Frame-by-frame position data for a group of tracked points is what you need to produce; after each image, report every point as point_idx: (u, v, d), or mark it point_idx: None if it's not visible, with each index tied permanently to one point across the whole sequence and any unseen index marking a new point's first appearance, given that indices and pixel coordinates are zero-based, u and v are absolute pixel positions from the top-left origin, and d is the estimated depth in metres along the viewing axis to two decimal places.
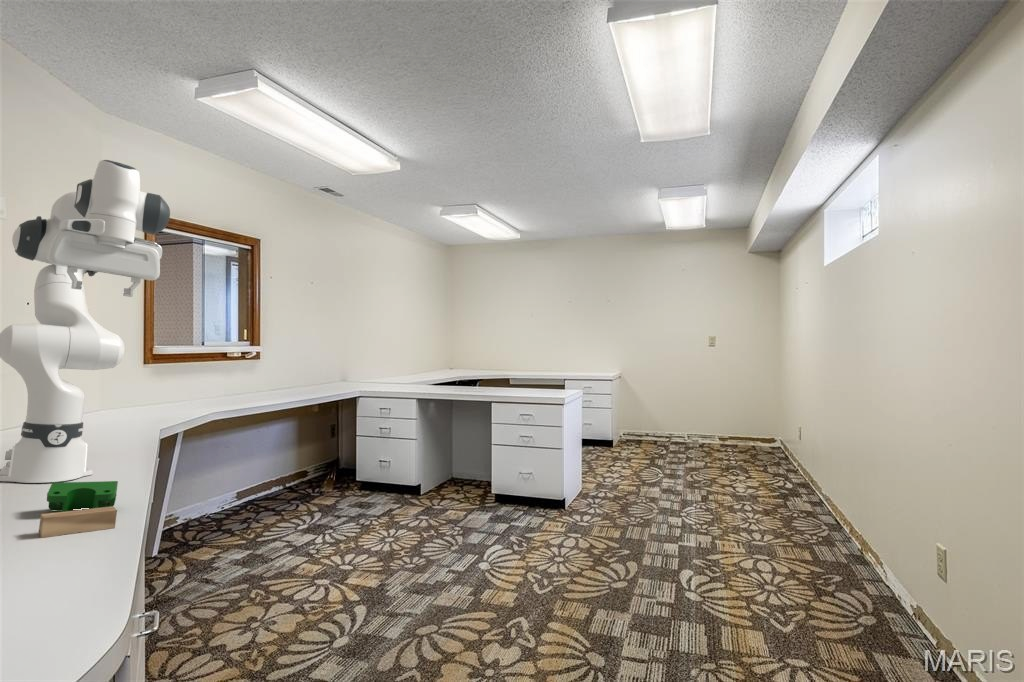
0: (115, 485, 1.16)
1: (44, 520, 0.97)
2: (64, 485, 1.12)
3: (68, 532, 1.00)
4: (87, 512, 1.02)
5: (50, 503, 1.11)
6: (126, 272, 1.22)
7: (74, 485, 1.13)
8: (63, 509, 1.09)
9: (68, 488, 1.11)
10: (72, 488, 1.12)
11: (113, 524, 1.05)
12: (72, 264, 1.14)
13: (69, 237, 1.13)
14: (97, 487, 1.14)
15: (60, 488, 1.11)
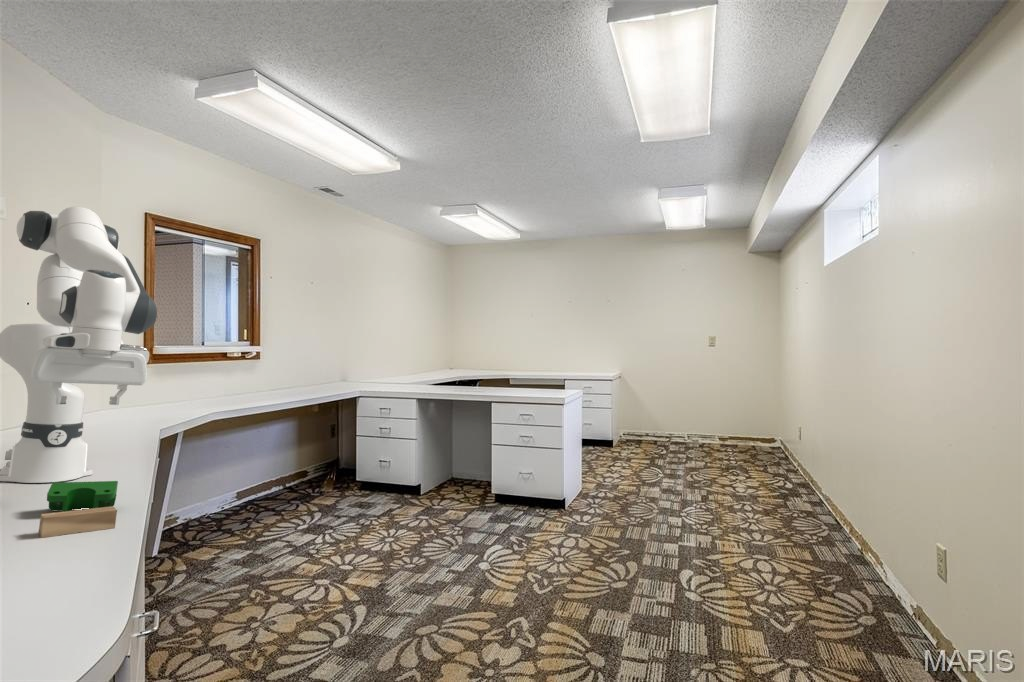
0: (115, 485, 1.16)
1: (44, 520, 0.97)
2: (64, 485, 1.12)
3: (68, 532, 1.00)
4: (87, 512, 1.02)
5: (50, 503, 1.11)
6: (112, 381, 1.20)
7: (74, 485, 1.13)
8: (63, 509, 1.09)
9: (68, 488, 1.11)
10: (72, 487, 1.12)
11: (113, 524, 1.05)
12: (56, 380, 1.12)
13: (53, 353, 1.12)
14: (97, 487, 1.14)
15: (60, 488, 1.11)
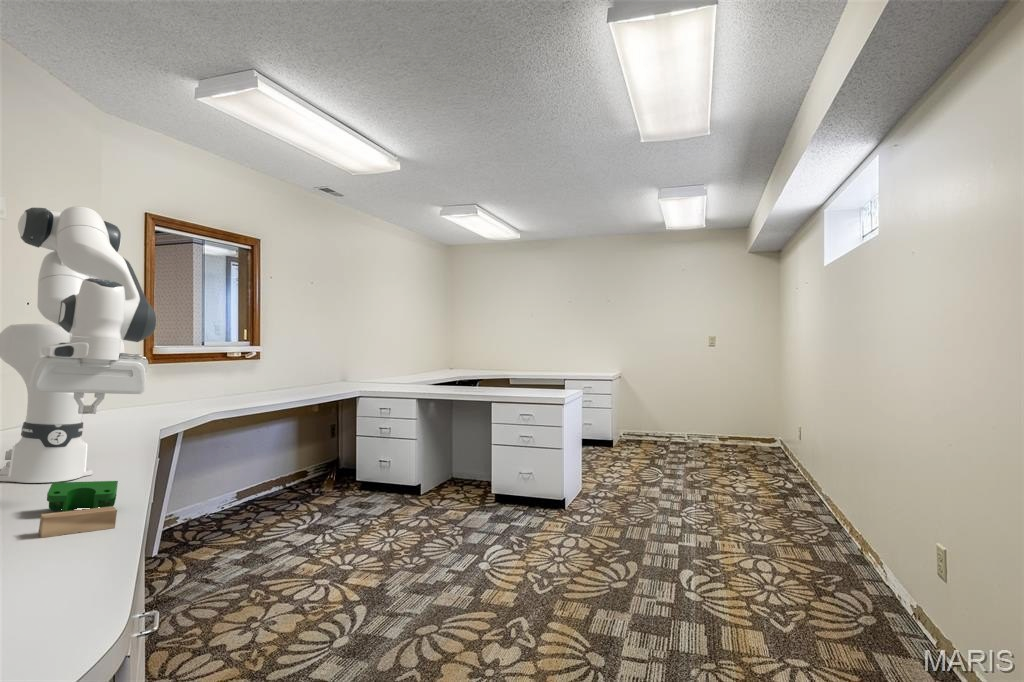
0: (115, 485, 1.16)
1: (44, 520, 0.97)
2: (64, 485, 1.12)
3: (68, 532, 1.00)
4: (87, 512, 1.02)
5: (50, 503, 1.11)
6: (111, 390, 1.20)
7: (74, 485, 1.13)
8: (63, 509, 1.09)
9: (68, 488, 1.11)
10: (72, 487, 1.12)
11: (113, 524, 1.05)
12: (55, 390, 1.12)
13: (52, 363, 1.11)
14: (97, 487, 1.14)
15: (60, 488, 1.11)
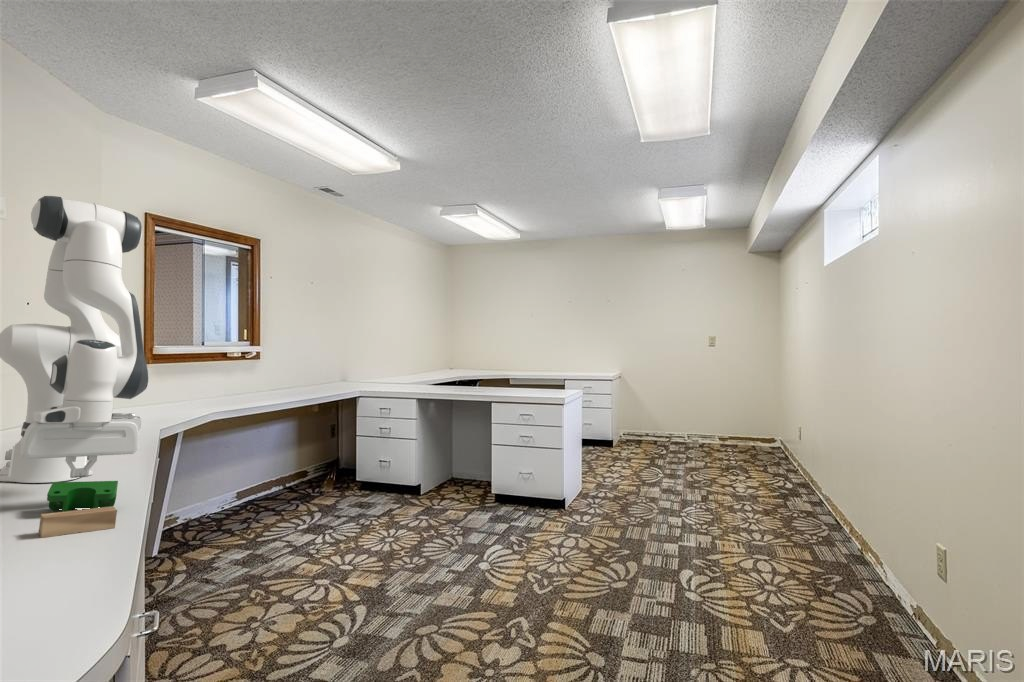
0: (115, 485, 1.17)
1: (44, 520, 0.97)
2: (64, 485, 1.12)
3: (68, 532, 1.00)
4: (87, 512, 1.02)
5: (50, 503, 1.11)
6: (103, 452, 1.18)
7: (74, 485, 1.13)
8: (63, 508, 1.09)
9: (69, 488, 1.12)
10: (72, 487, 1.12)
11: (113, 524, 1.05)
12: (46, 456, 1.11)
13: (43, 429, 1.10)
14: (97, 487, 1.14)
15: (60, 488, 1.11)
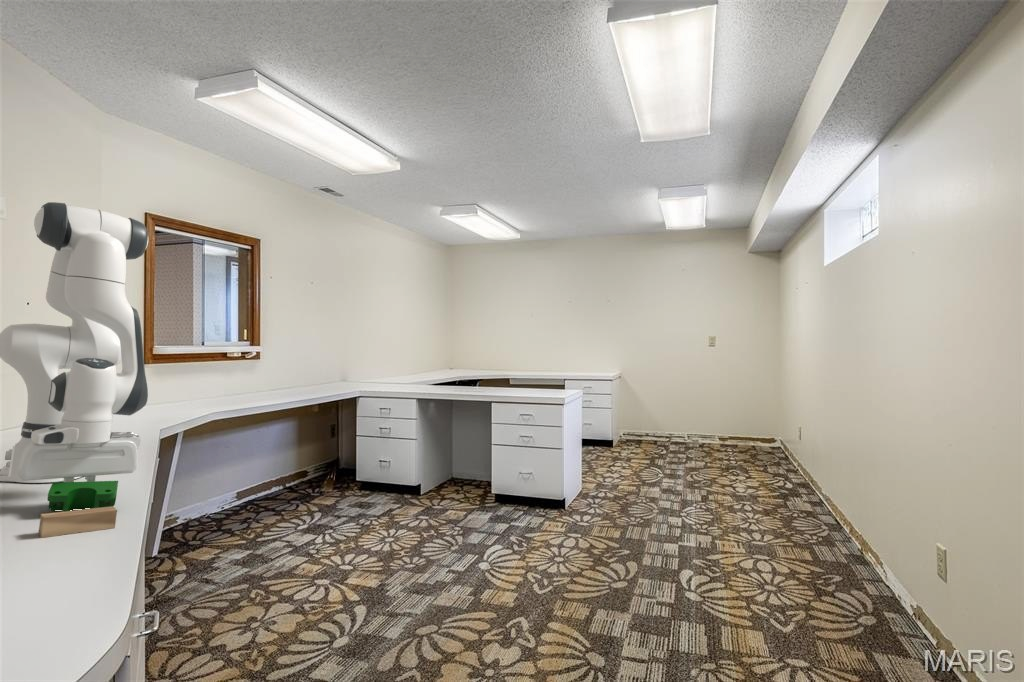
0: (116, 485, 1.16)
1: (44, 520, 0.97)
2: (64, 485, 1.12)
3: (68, 532, 1.00)
4: (87, 512, 1.02)
5: (50, 503, 1.11)
6: (101, 472, 1.18)
7: (75, 485, 1.13)
8: (64, 509, 1.09)
9: (69, 488, 1.11)
10: (73, 487, 1.12)
11: (113, 524, 1.05)
12: (44, 477, 1.10)
13: (41, 451, 1.09)
14: (98, 487, 1.14)
15: (60, 488, 1.11)
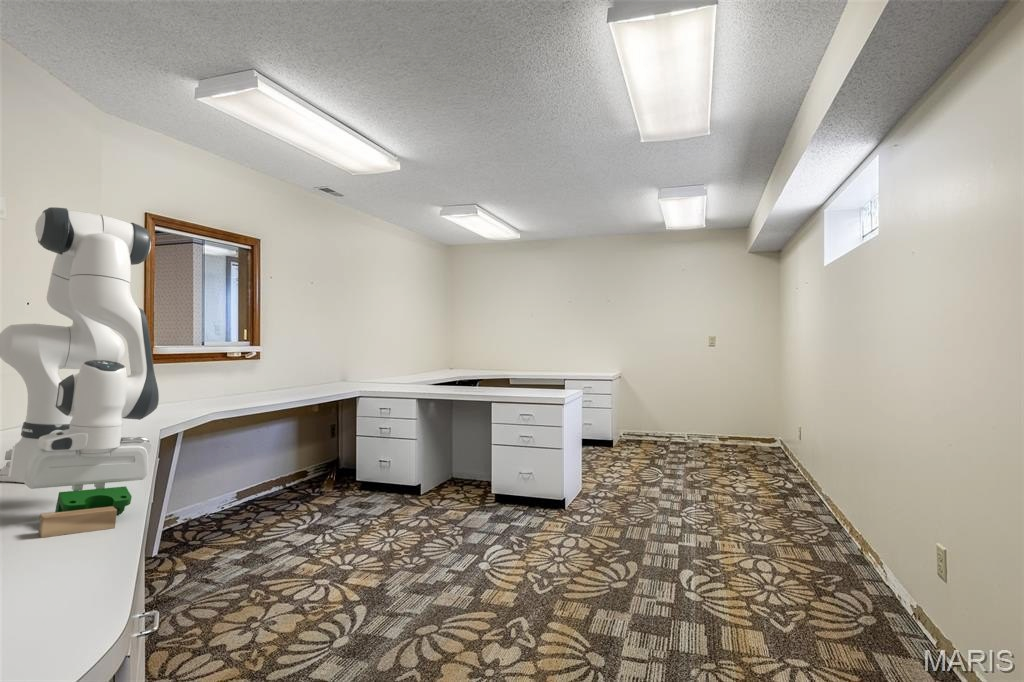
0: (127, 490, 1.13)
1: (44, 520, 0.97)
2: (74, 494, 1.07)
3: (68, 532, 1.00)
4: (87, 512, 1.02)
5: None
6: (111, 479, 1.13)
7: (85, 493, 1.08)
8: None
9: (82, 497, 1.06)
10: (85, 496, 1.07)
11: (113, 524, 1.05)
12: (52, 485, 1.05)
13: (48, 457, 1.04)
14: (111, 494, 1.10)
15: (72, 497, 1.05)
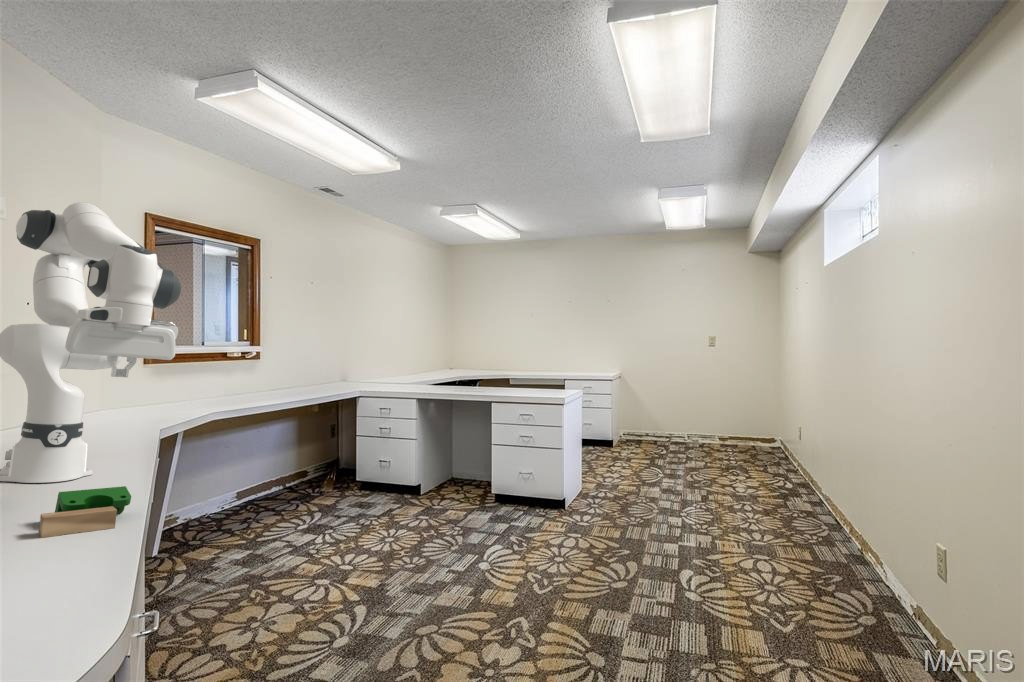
0: (126, 490, 1.13)
1: (44, 520, 0.97)
2: (74, 494, 1.07)
3: (68, 532, 1.00)
4: (87, 512, 1.02)
5: None
6: (142, 355, 1.23)
7: (85, 493, 1.08)
8: None
9: (81, 497, 1.06)
10: (84, 496, 1.07)
11: (113, 524, 1.05)
12: (90, 352, 1.15)
13: (87, 326, 1.14)
14: (110, 494, 1.10)
15: (72, 497, 1.06)
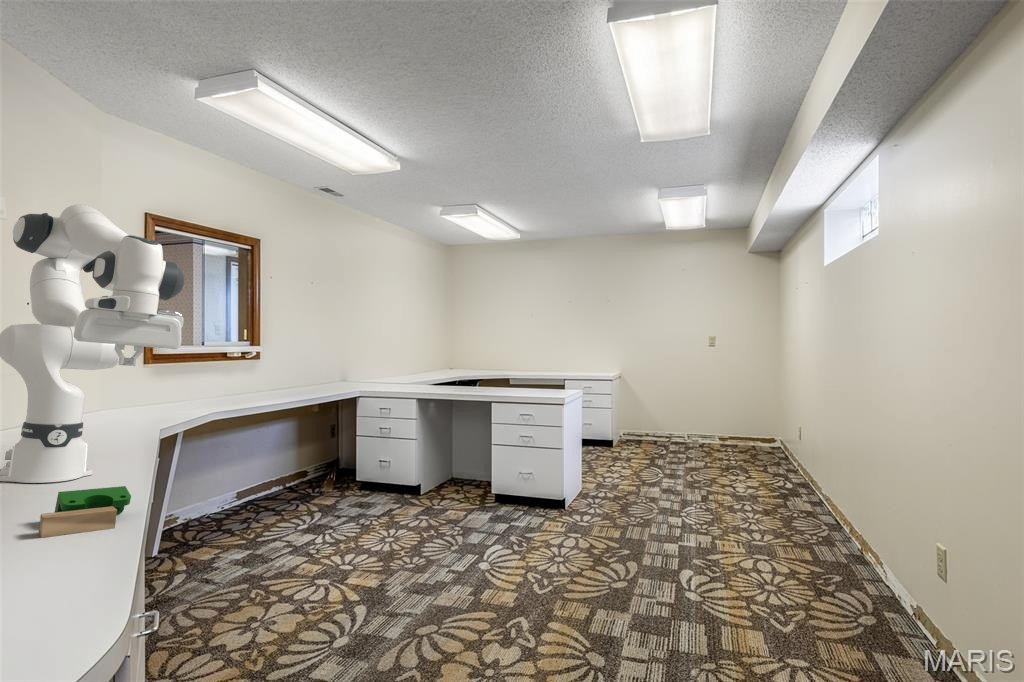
0: (126, 490, 1.13)
1: (44, 520, 0.97)
2: (73, 493, 1.07)
3: (68, 532, 1.00)
4: (87, 512, 1.02)
5: None
6: (149, 344, 1.24)
7: (84, 493, 1.08)
8: None
9: (81, 496, 1.07)
10: (84, 495, 1.07)
11: (113, 524, 1.05)
12: (98, 341, 1.17)
13: (95, 315, 1.16)
14: (110, 493, 1.10)
15: (71, 497, 1.06)
